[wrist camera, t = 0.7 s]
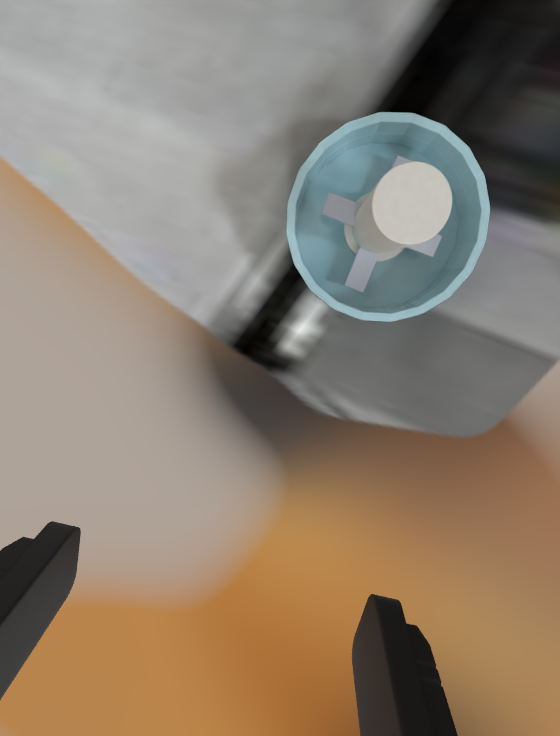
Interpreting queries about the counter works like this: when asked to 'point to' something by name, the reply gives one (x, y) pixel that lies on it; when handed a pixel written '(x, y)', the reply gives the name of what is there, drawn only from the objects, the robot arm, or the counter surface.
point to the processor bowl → (359, 177)
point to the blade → (393, 217)
